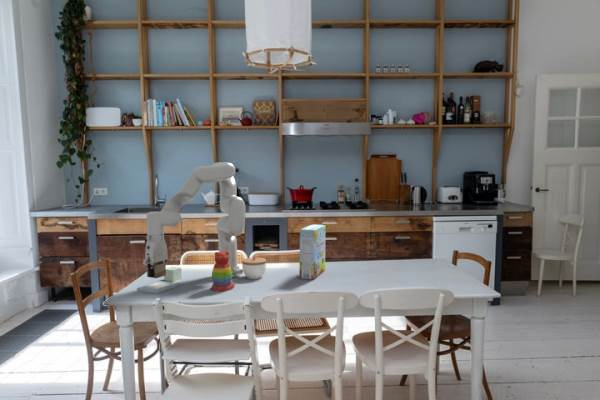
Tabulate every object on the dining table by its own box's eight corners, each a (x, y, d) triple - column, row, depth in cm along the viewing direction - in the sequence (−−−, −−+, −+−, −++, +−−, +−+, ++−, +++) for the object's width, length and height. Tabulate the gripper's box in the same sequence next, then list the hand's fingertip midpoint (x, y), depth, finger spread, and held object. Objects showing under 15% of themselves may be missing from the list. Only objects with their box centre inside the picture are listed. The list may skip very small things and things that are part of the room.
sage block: (181, 279, 218) (181, 267, 218) (173, 282, 213) (173, 270, 213) (172, 278, 221) (172, 266, 221) (164, 280, 216) (163, 269, 215)
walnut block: (165, 275, 203) (165, 263, 202) (156, 278, 197) (156, 265, 197) (156, 274, 205) (156, 261, 205) (147, 276, 200) (146, 264, 199)
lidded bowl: (262, 281, 213) (262, 259, 212) (238, 279, 216) (238, 258, 215) (269, 274, 225) (269, 254, 225) (246, 273, 228) (246, 253, 227)
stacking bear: (235, 285, 205) (234, 249, 204) (232, 291, 195) (231, 253, 194) (212, 285, 205) (211, 249, 204) (209, 292, 195) (208, 253, 194)
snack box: (315, 280, 213) (314, 229, 211) (298, 279, 216) (298, 229, 214) (326, 270, 234) (326, 224, 232) (311, 269, 236) (311, 223, 234)
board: (177, 285, 206) (177, 283, 205) (156, 293, 193) (156, 290, 193) (158, 283, 211) (158, 280, 211) (136, 290, 198) (136, 288, 198)
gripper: (147, 241, 191) (148, 280, 192) (174, 235, 206) (175, 272, 207) (135, 239, 194) (136, 278, 195) (162, 234, 209) (163, 270, 211)
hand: (156, 274), depth 201 cm, fingers closed on walnut block, 6 cm apart
